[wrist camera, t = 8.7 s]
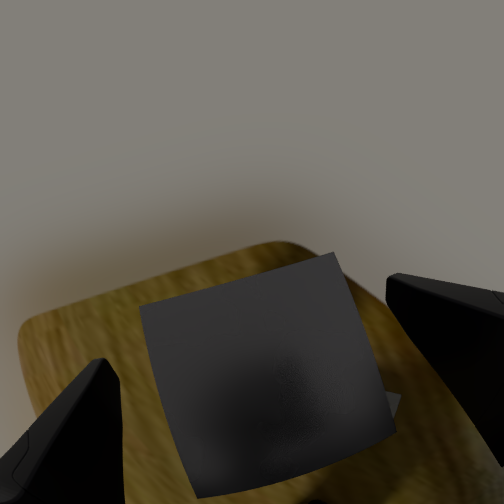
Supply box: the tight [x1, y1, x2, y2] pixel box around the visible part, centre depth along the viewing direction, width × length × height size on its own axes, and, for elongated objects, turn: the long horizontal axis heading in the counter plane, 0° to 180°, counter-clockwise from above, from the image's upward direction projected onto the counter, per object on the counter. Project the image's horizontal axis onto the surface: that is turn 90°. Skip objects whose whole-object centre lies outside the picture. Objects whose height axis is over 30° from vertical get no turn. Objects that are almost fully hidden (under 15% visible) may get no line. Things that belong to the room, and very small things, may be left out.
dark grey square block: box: [139, 252, 397, 499], centre depth 11 cm, size 5×5×11 cm
